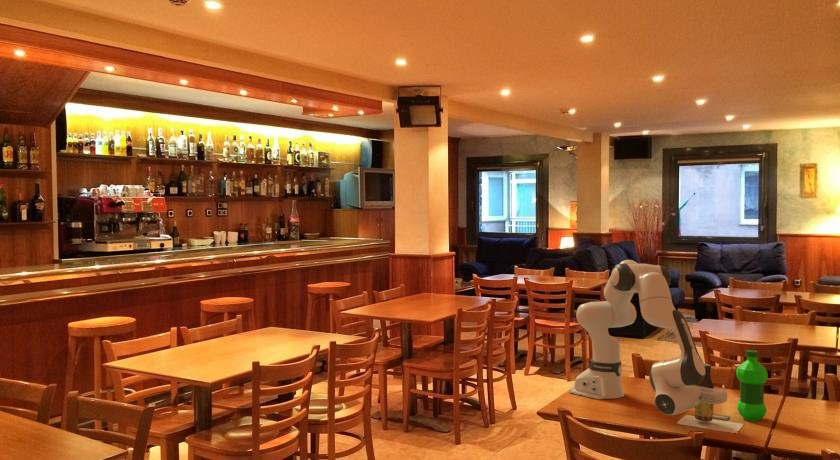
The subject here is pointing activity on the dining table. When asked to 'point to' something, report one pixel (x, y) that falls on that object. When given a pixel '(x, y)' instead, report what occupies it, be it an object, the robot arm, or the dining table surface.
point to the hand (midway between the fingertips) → (705, 388)
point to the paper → (711, 424)
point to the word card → (720, 417)
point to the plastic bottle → (751, 387)
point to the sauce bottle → (704, 409)
